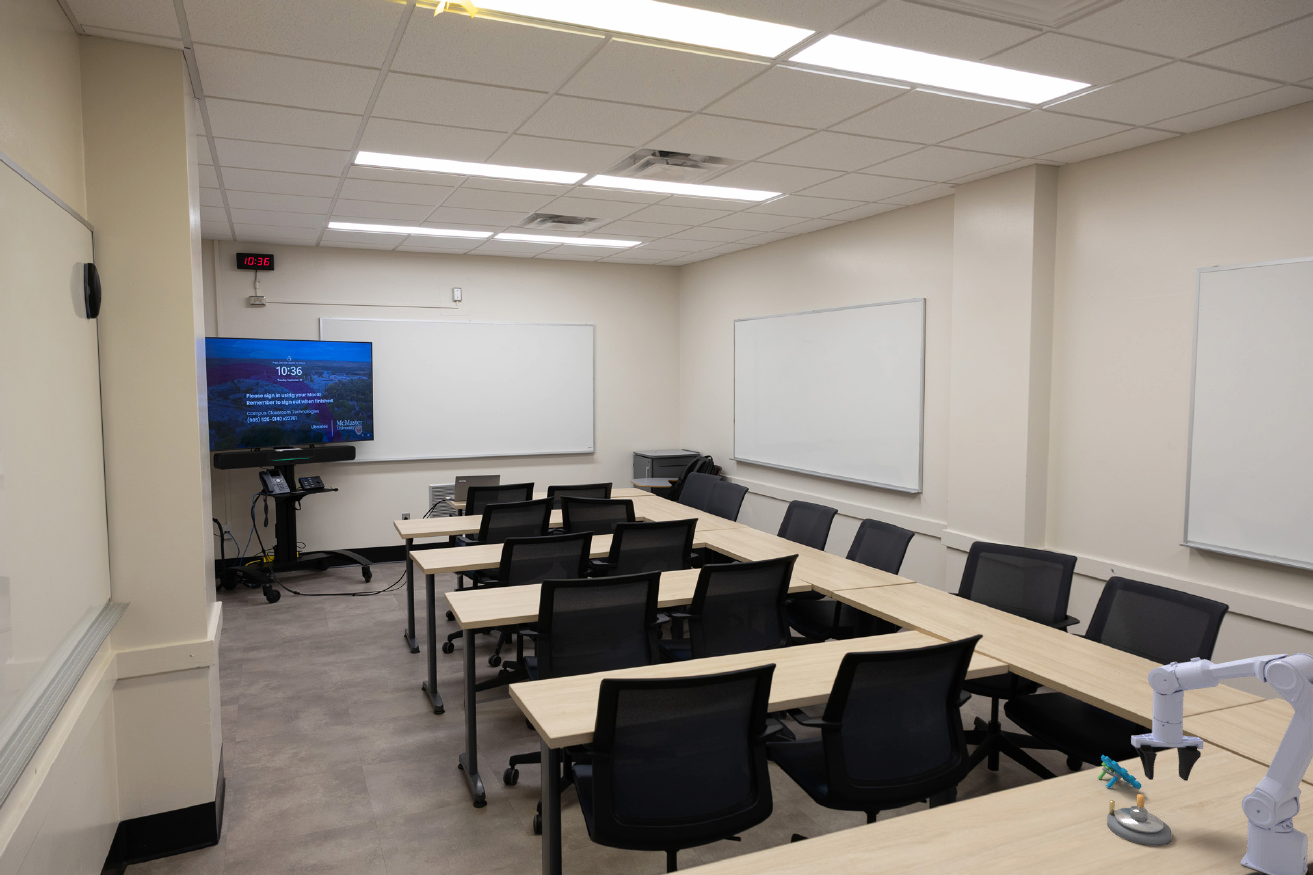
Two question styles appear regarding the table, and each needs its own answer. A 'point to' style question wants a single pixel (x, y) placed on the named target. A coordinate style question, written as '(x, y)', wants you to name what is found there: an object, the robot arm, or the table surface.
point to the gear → (1117, 773)
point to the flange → (1139, 818)
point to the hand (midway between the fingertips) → (1166, 778)
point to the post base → (1136, 836)
